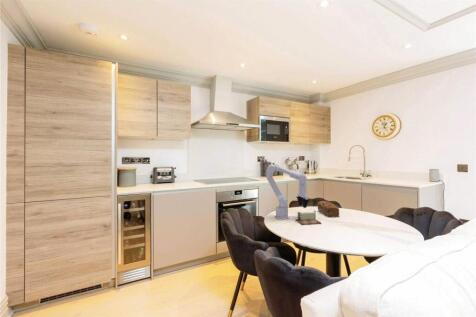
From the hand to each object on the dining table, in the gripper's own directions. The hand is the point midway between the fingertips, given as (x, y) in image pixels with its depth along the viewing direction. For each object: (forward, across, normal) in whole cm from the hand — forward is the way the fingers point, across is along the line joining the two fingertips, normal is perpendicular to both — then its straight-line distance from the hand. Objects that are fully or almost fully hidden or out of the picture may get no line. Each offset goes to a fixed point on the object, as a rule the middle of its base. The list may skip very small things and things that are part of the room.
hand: (302, 206), depth 180 cm
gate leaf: (+8, -7, -1) cm, 11 cm away
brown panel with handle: (+9, -9, 0) cm, 13 cm away
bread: (+10, +7, -26) cm, 29 cm away
